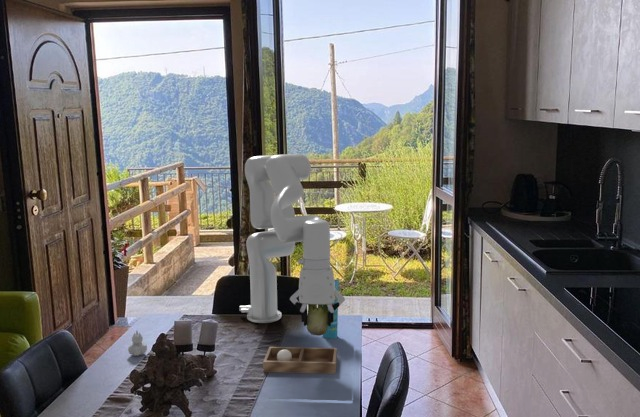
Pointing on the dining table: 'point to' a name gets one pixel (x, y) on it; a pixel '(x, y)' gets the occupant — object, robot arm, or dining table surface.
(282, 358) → the cream egg
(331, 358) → the wooden compartment tray
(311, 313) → the fennel bulb
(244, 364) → the dining table surface
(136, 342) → the grey figurine
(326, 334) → the tube
